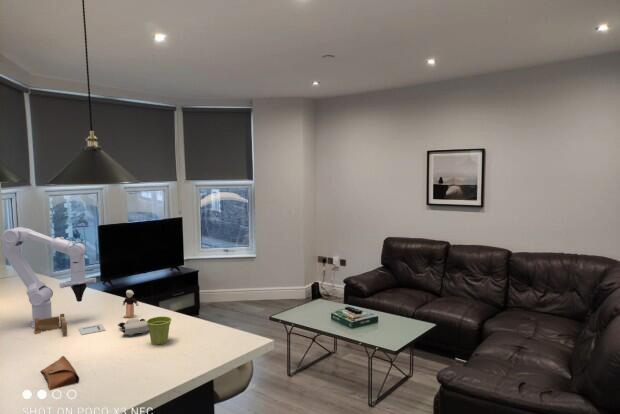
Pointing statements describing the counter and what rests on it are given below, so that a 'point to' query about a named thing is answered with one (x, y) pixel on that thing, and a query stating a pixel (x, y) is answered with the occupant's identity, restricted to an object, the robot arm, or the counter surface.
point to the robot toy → (134, 326)
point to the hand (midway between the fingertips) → (79, 301)
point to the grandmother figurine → (129, 304)
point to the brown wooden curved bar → (63, 324)
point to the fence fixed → (46, 324)
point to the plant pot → (159, 329)
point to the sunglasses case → (60, 374)
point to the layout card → (91, 329)
